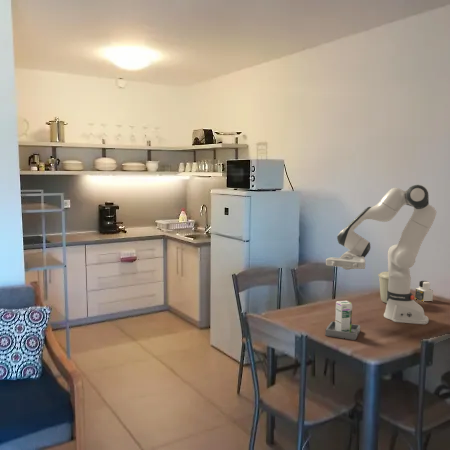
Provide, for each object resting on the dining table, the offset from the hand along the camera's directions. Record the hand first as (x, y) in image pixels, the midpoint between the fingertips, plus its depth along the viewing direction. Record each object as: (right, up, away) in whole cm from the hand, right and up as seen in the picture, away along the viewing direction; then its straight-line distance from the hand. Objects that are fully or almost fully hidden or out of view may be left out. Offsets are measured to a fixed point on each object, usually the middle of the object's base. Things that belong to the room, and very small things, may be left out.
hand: (343, 265), depth 237 cm
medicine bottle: (+62, -26, +48) cm, 83 cm away
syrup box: (-3, -31, -13) cm, 34 cm away
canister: (+41, -26, +43) cm, 65 cm away
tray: (-3, -32, -13) cm, 34 cm away
